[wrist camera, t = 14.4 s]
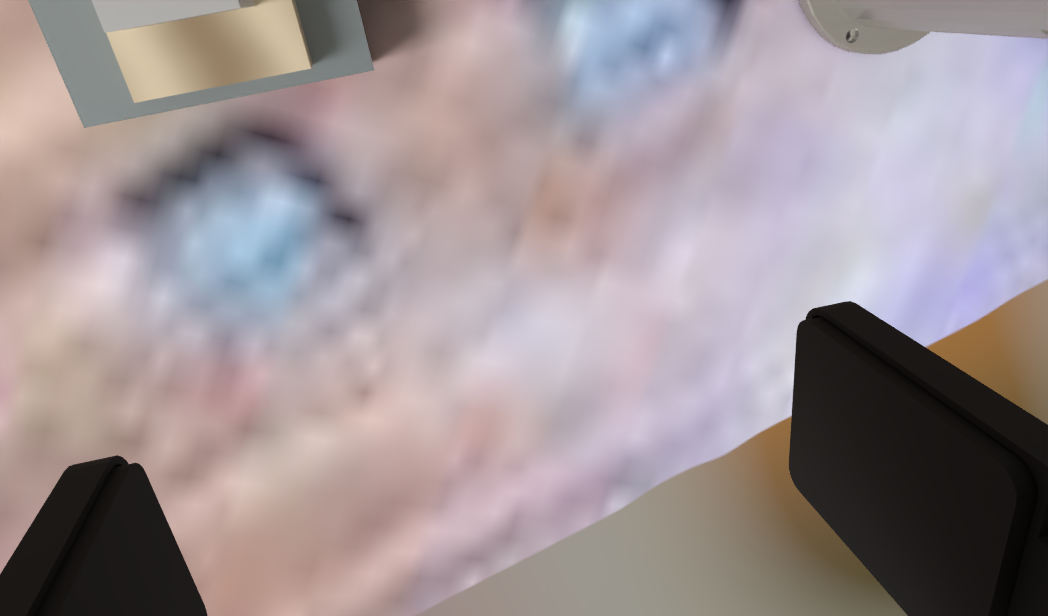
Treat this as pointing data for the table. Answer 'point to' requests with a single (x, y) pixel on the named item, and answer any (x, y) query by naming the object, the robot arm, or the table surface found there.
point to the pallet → (211, 50)
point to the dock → (107, 98)
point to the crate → (158, 11)
